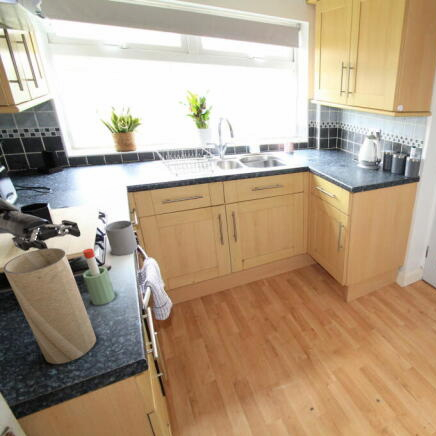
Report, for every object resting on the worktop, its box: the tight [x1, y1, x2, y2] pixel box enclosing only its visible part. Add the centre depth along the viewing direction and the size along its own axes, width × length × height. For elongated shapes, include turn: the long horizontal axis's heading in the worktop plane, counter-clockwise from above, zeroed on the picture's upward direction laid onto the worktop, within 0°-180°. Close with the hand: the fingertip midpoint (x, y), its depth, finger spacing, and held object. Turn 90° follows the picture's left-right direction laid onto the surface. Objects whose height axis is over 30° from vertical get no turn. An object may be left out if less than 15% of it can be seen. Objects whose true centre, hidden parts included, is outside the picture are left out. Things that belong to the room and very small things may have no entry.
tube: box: [3, 247, 97, 365], centre depth 72 cm, size 10×10×25 cm
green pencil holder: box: [82, 266, 116, 306], centre depth 92 cm, size 6×6×10 cm
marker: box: [82, 248, 100, 277], centre depth 90 cm, size 2×2×16 cm
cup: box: [104, 220, 139, 256], centre depth 117 cm, size 8×8×10 cm
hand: (62, 239), depth 91 cm, fingers open, 8 cm apart
